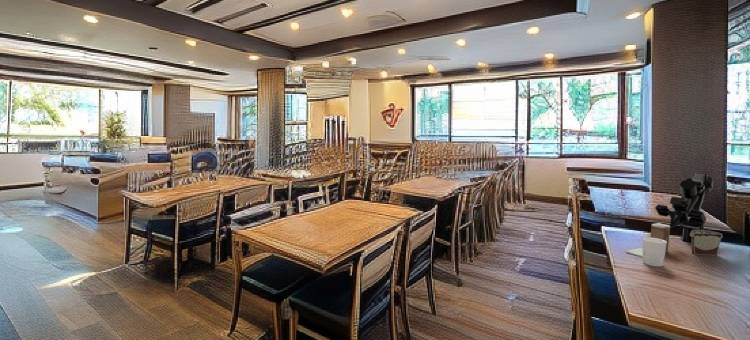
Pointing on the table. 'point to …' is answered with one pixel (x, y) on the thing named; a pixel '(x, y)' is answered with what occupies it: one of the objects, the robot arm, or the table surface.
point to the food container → (705, 242)
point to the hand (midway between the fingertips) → (671, 227)
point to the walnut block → (661, 232)
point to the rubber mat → (636, 252)
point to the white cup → (654, 251)
